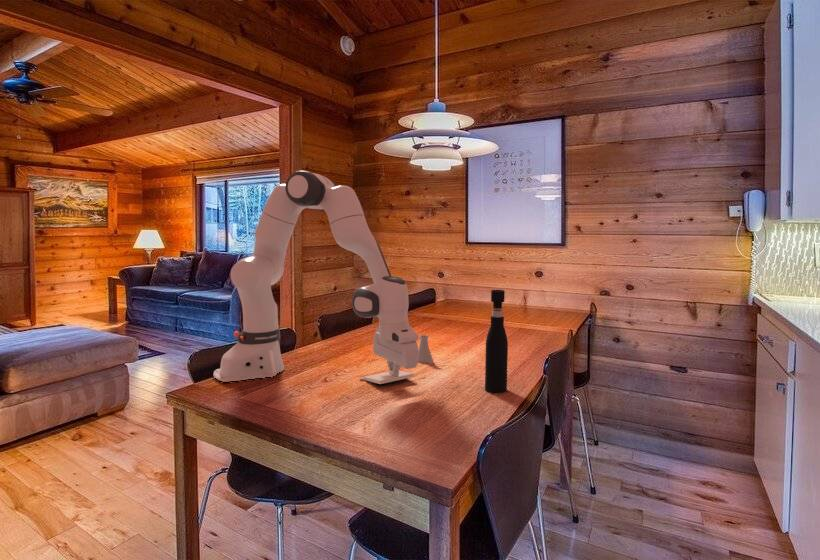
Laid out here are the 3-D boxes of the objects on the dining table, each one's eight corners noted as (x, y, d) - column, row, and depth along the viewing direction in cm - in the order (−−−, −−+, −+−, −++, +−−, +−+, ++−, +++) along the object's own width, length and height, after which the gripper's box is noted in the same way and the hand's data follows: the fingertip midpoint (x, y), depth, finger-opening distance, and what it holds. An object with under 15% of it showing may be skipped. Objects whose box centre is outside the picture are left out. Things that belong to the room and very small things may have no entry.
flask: (432, 367, 163) (432, 338, 162) (412, 365, 165) (412, 337, 164) (435, 361, 171) (435, 334, 169) (415, 360, 172) (415, 333, 171)
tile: (363, 380, 146) (380, 384, 138) (363, 376, 146) (379, 380, 138) (396, 373, 153) (413, 377, 145) (396, 370, 153) (413, 373, 145)
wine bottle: (502, 395, 136) (504, 292, 133) (481, 391, 140) (483, 291, 136) (509, 388, 142) (512, 290, 138) (489, 384, 145) (491, 288, 142)
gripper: (367, 325, 148) (368, 368, 150) (403, 339, 131) (403, 386, 133) (384, 323, 152) (385, 365, 153) (422, 336, 135) (421, 382, 136)
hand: (394, 375), depth 143 cm, fingers closed
